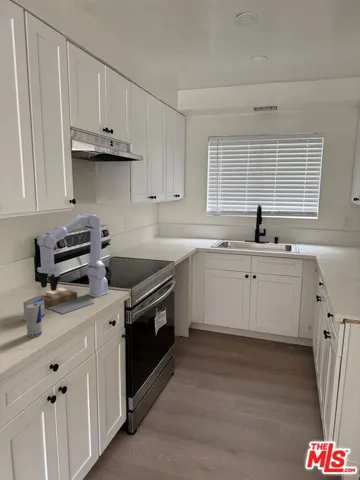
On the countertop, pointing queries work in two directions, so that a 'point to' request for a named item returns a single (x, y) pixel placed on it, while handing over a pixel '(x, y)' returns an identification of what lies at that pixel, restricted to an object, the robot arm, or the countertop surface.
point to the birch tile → (57, 292)
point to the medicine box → (35, 300)
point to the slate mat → (70, 305)
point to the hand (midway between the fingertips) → (48, 288)
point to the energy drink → (33, 320)
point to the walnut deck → (58, 298)
